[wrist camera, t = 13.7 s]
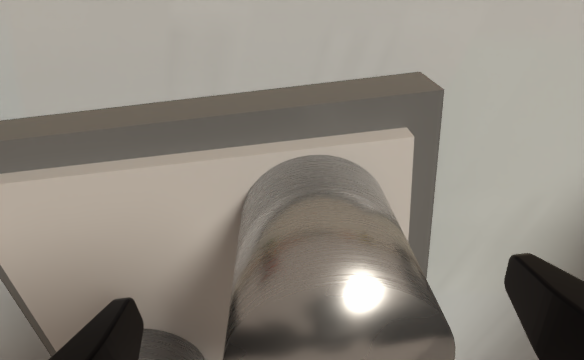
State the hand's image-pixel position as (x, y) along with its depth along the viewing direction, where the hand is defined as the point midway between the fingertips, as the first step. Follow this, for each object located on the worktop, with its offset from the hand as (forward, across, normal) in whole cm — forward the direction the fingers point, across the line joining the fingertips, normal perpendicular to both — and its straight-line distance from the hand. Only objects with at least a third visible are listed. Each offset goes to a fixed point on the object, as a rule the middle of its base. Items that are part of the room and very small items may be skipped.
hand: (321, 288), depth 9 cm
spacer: (+3, 0, 0) cm, 3 cm away
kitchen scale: (+6, +3, +4) cm, 8 cm away
